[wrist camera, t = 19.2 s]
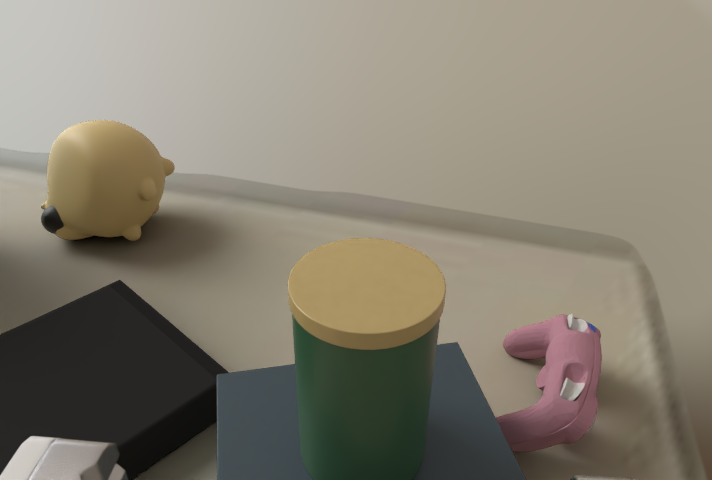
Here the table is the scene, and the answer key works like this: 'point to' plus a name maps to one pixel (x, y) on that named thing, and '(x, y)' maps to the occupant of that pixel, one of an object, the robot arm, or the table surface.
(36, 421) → the external hard drive
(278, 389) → the storage box
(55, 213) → the toy pig
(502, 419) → the video game controller
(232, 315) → the table surface
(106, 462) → the robot arm
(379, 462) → the tea tin
